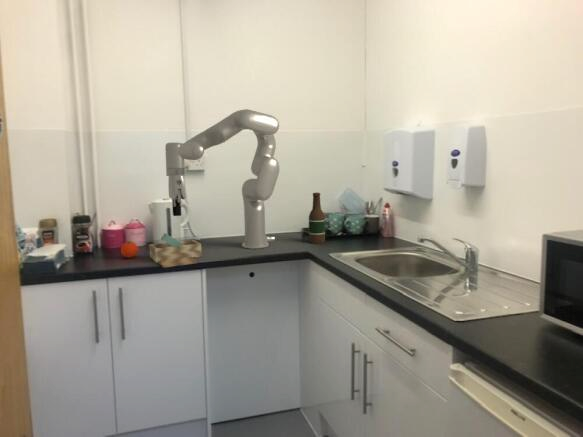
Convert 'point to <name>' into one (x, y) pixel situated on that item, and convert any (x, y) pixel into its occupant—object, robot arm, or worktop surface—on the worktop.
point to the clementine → (129, 249)
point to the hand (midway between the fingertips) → (177, 215)
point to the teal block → (171, 240)
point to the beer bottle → (316, 222)
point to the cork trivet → (177, 262)
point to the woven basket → (175, 250)
